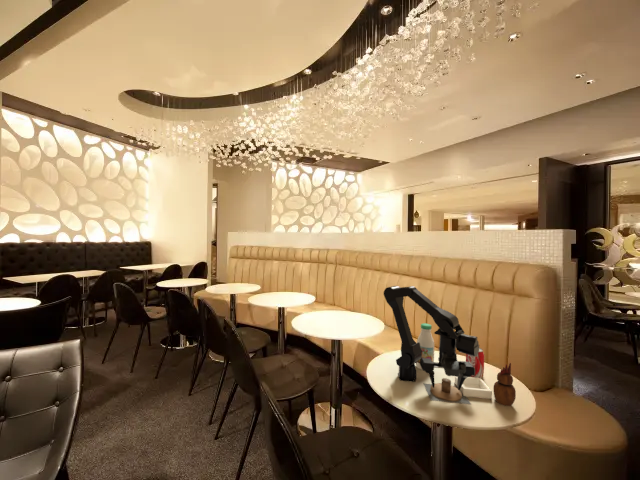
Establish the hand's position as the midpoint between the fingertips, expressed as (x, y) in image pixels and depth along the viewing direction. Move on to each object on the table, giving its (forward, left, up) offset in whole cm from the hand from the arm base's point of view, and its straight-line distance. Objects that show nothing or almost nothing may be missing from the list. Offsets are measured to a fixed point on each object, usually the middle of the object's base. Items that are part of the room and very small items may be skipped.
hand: (445, 388), depth 111 cm
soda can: (+17, +18, -3) cm, 25 cm away
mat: (0, 0, -2) cm, 2 cm away
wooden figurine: (+20, -2, -3) cm, 20 cm away
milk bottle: (-3, +22, -3) cm, 22 cm away
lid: (0, 0, -2) cm, 2 cm away
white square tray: (+11, +4, -2) cm, 12 cm away
